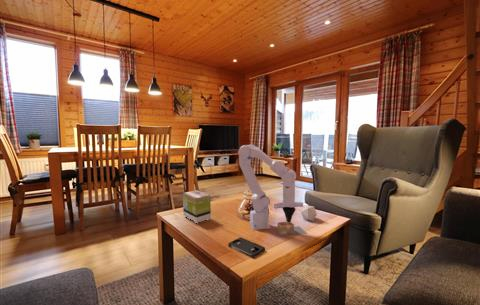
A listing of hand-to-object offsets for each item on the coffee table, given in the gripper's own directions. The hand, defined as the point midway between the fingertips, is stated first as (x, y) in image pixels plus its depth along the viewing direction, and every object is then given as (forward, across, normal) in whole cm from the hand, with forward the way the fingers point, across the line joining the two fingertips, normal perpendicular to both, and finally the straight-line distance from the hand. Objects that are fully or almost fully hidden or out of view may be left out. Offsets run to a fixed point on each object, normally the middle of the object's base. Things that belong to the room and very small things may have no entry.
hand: (288, 221), depth 114 cm
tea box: (+6, -44, +30) cm, 53 cm away
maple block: (+3, +2, 0) cm, 4 cm away
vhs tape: (+6, -24, -11) cm, 27 cm away
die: (+6, +18, +12) cm, 23 cm away
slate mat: (+5, +1, 0) cm, 5 cm away
